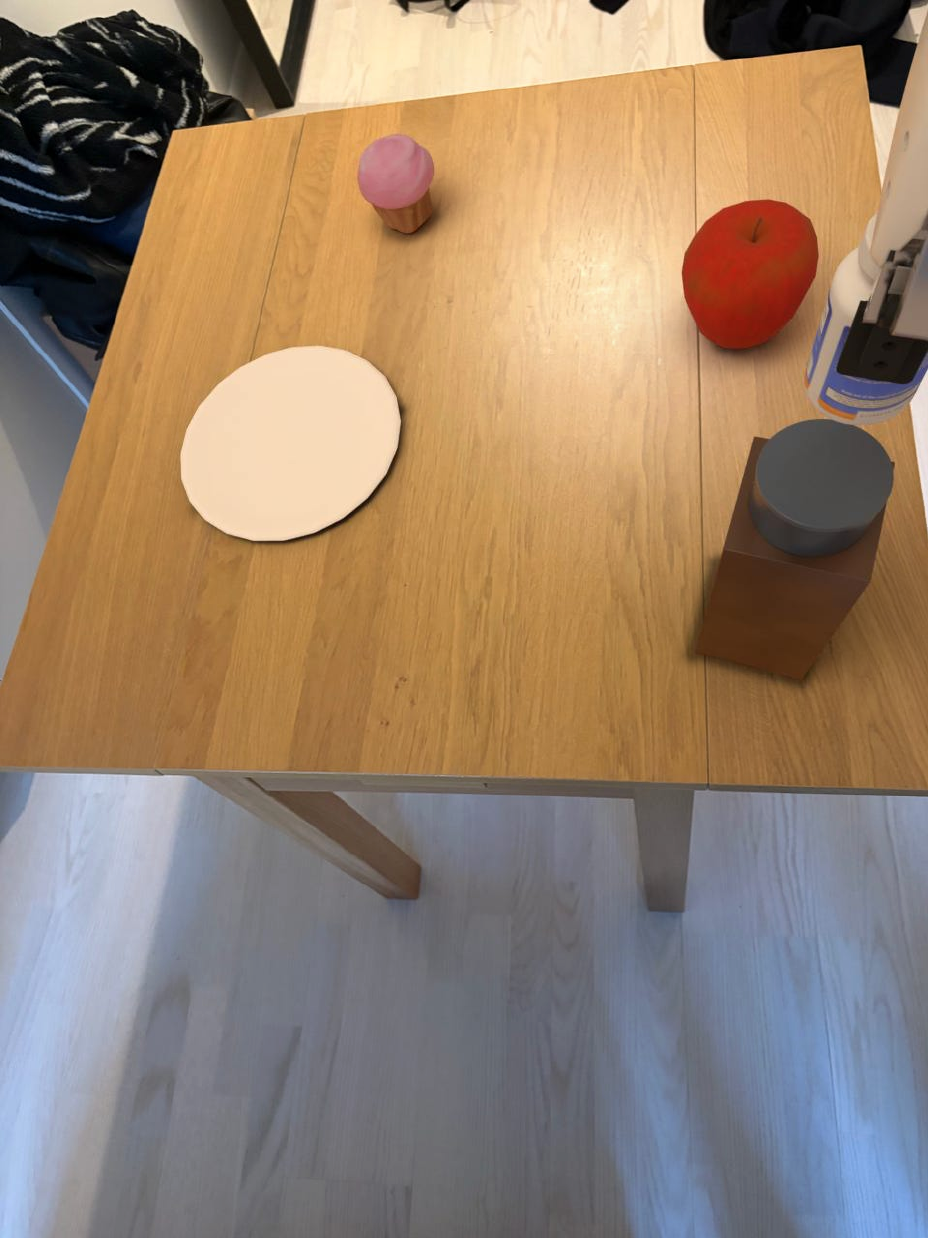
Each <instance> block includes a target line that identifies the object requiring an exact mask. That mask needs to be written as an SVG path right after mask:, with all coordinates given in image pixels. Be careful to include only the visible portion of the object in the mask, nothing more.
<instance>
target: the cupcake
mask: <svg viewBox="0 0 928 1238" xmlns="http://www.w3.org/2000/svg"><path fill="white" fill-rule="evenodd" d="M434 177H435V163H434V160H433V157H432V155H431V153H430V151H429V150H428V149H427V148H426V147H425V146H422V145H420V144H419V143H418V142H417V141H416V140H414V138H412V137H411V136H409V135H405V134H402V133H394V134H390V135H387V136H384V137H380V138H377V139H376V140H373V142H371V144H369V145H368V146H367V147H365V149H364V150H363V151H362V153H361V154H360V157H359V161H358V167H357V185H358V189H359V191H360V194H361V196H362V198H363V199H364V200H365V201H366V202H367V203H369V204H370V205H371V206H372V207H373V209H374V211H375V212H376V213H377V215H378V216H379V217H380V218H381V220H383V221H384V222H385V224H386V225H387V227H388V228H390V229H393V230H397V231H399V232H401V233H404V234H412V233H415V232H416V231H417V230H418V229H419V228H420V227H421V225H423V224H424V223H425V222H426V221H427V220H429V218H430V217H431V215H432V214H433V203H432V195H431V189H430V188H431V187H430V186H431V184H432V183H433V179H434Z"/></svg>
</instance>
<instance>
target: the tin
mask: <svg viewBox="0 0 928 1238" xmlns="http://www.w3.org/2000/svg"><path fill="white" fill-rule="evenodd" d="M769 439H770V440H769V441H768V442H767V443H766V445H765V446H764V447H763V449H762V451H761V453H760V455H759V458H758V461H757V465H756V474H755V477H754V480H753V484H752V487H751V490H750V495H749V505H748V506H749V513H750V516H751V519H752V521H753V524H754V526H755V527H756V529H757V530H758V532H759V533H760V534H761V535H762V536H763V537H764V538H765V539H766V540H767V541H768V542H769V543H771V544H772V545H774V546H775V547H777V548H779V549H781V550H783V551H785V552H788V553H791V554H794V555H798V556H804V557H823V556H829V555H833V554H837V553H839V552H842V551H844V550H846V549H848V548H850V547H851V546H853V545H854V544H855V543H857V542H858V541H859V540H860V539H861V538H862V537H863V535H864V534H865V532H866V531H867V529H868V528H869V526H870V525H871V523H872V521H873V520H874V518H875V516H876V515H877V513H878V512H879V511H880V510H881V509H882V508H883V506H884V505H885V503H886V502H887V503H888V500H889V498H890V496H891V494H892V491H893V488H894V480H895V473H894V471H893V466H892V463H891V462H892V460H891V458H890V456H889V454H888V451H887V450H886V449H885V447H884V446H883V445H882V444H881V442H880V441H879V440H878V439H877V438H876V437H874V436H873V435H872V434H870V433H869V432H868V431H866V430H864V429H863V428H861V427H859V426H858V425H849V424H844V423H840V422H837V421H834V420H832V419H830V418H815V419H813V418H812V419H807V420H801V421H797V422H795V423H792V424H790V425H788V426H786V427H784V428H782V429H781V430H778V431H777V432H776V433H775V434H774V435H773V436H771V437H770V438H769Z"/></svg>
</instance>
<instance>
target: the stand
mask: <svg viewBox="0 0 928 1238" xmlns="http://www.w3.org/2000/svg"><path fill="white" fill-rule="evenodd" d="M770 439H771V438H766V437H761V436H757V435H755V436H753V438H752V442H751V446H750V449H749V453H748V456H747V460H746V463H745V468H744V471H743V475H742V478H741V482H740V485H739V489H738V493H737V497H736V501H735V504H734V507H733V512H732V515H731V518H730V522H729V526H728V528H727V533H726V536H725V539H724V544H723V547H722V551H721V554H720V558H719V562H718V565H717V570H716V573H715V577H714V579H713V584H712V589H711V592H710V594H709V599H708V603H707V606H706V610H705V614H704V618H703V621H702V625H701V628H700V632H699V635H698V639H697V642H696V646H695V650H694V652H695V653H696V654H700V655H704V656H707V657H711V658H715V659H719V660H722V661H727V662H730V663H733V664H738V665H741V666H745V667H748V668H749V667H750V668H753V669H758V670H761V671H765V672H768V673H771V674H776V675H780V676H784V677H787V678H791V679H794V680H799V681H802V680H803V679H804V677H805V676H806V675H807V673H808V672H809V671H810V669H811V667H812V666H813V664H814V663H815V661H816V660H817V659H818V657H819V656H820V655H821V653H822V651H823V650H824V649H825V648H826V646H827V644H829V642H830V640H831V639H832V638H833V636H834V635H835V633H836V632H837V630H838V629H839V628H840V626H841V625H842V623H843V622H844V620H845V619H846V618H847V616H848V615H849V613H850V612H851V610H852V609H853V608H854V607H855V605H856V603H857V602H858V600H859V599H860V597H861V596H862V595H863V594H864V592H865V590H866V589H867V588H868V586H869V585H870V583H871V581H872V576H873V571H874V566H875V562H876V558H877V552H878V547H879V543H880V538H881V534H882V533H881V532H882V528H883V524H884V523H883V522H884V519H885V515H886V514H885V513H886V509H887V504H888V501H887V502H886V503H885V505H884V506H883V508H882V509H881V510H880V511H879V512H878V513H877V515H876V516H875V518H874V520H873V521H872V523H871V525H870V526H869V528H868V529H867V531H866V532H865V534H864V535H863V537H862V538H861V539H860V540H859V541H858V542H857V543H855V544H854V545H853V546H851V547H850V548H848V549H846V550H844V551H842V552H839V553H837V554H833V555H829V556H823V557H804V556H798V555H794V554H791V553H788V552H785V551H783V550H781V549H779V548H777V547H775V546H774V545H772V544H771V543H769V542H768V541H767V540H766V539H765V538H764V537H763V536H762V535H761V534H760V533H759V532H758V530H757V529H756V527H755V526H754V524H753V521H752V519H751V516H750V513H749V506H748V505H749V495H750V490H751V487H752V484H753V480H754V477H755V474H756V465H757V461H758V458H759V455H760V453H761V451H762V449H763V447H764V446H765V445H766V443H767V442H768V441H769V440H770ZM891 463H892V466H893V471H894V470H895V465H896V462H895V461H891Z"/></svg>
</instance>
